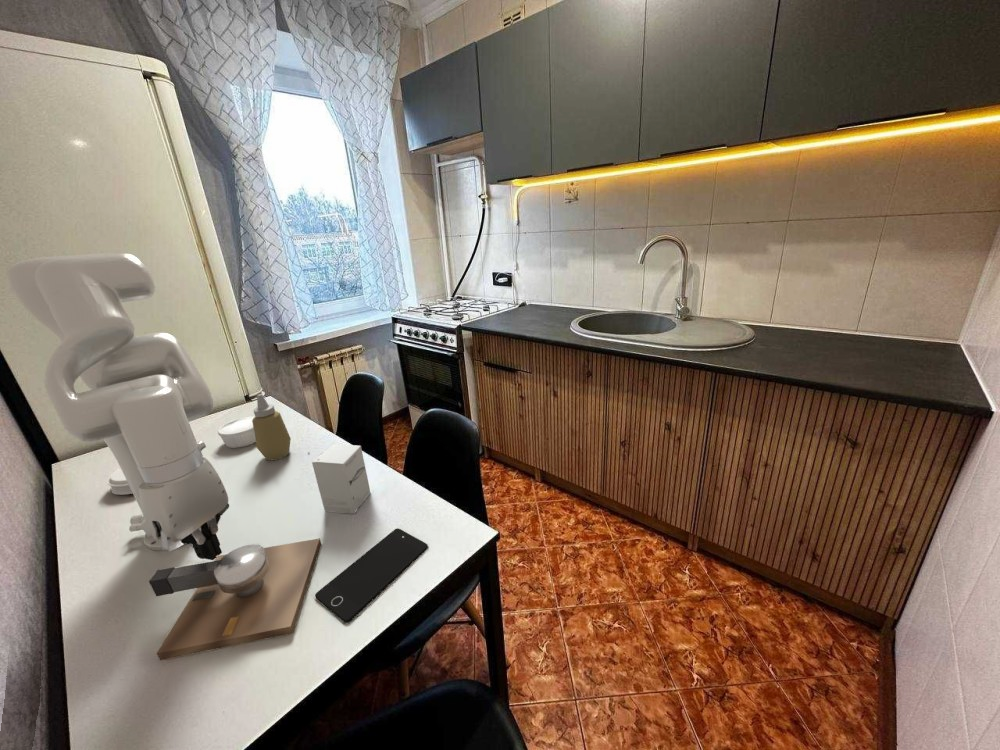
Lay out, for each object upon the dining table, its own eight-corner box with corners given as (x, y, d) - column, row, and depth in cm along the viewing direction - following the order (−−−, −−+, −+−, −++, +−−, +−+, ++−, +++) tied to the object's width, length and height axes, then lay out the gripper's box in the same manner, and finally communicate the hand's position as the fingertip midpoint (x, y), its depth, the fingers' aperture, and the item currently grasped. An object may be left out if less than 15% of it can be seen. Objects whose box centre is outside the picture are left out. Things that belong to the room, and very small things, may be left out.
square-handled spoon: (275, 554, 68) (270, 540, 67) (260, 589, 62) (254, 573, 60) (173, 572, 66) (166, 558, 64) (146, 610, 59) (138, 594, 58)
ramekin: (242, 430, 122) (237, 415, 121) (274, 431, 121) (270, 416, 119) (213, 450, 112) (207, 433, 110) (248, 451, 110) (242, 434, 109)
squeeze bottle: (300, 451, 108) (283, 392, 102) (271, 466, 102) (251, 404, 96) (283, 444, 113) (266, 387, 106) (255, 458, 106) (235, 398, 100)
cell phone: (314, 598, 65) (313, 594, 64) (397, 530, 78) (397, 527, 78) (347, 626, 60) (346, 622, 59) (429, 548, 73) (429, 544, 73)
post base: (159, 660, 56) (149, 641, 55) (219, 562, 73) (212, 545, 71) (293, 633, 59) (286, 614, 57) (321, 544, 75) (316, 528, 74)
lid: (103, 504, 91) (93, 486, 90) (125, 475, 102) (117, 459, 101) (168, 488, 96) (161, 470, 94) (183, 462, 107) (177, 446, 105)
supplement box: (354, 515, 83) (342, 464, 78) (323, 511, 84) (310, 461, 80) (372, 492, 89) (361, 444, 85) (343, 490, 91) (331, 443, 86)
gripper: (199, 438, 69) (231, 522, 75) (99, 492, 55) (149, 588, 62) (233, 441, 67) (263, 527, 73) (138, 497, 53) (185, 596, 60)
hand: (211, 555), depth 67 cm, fingers closed
